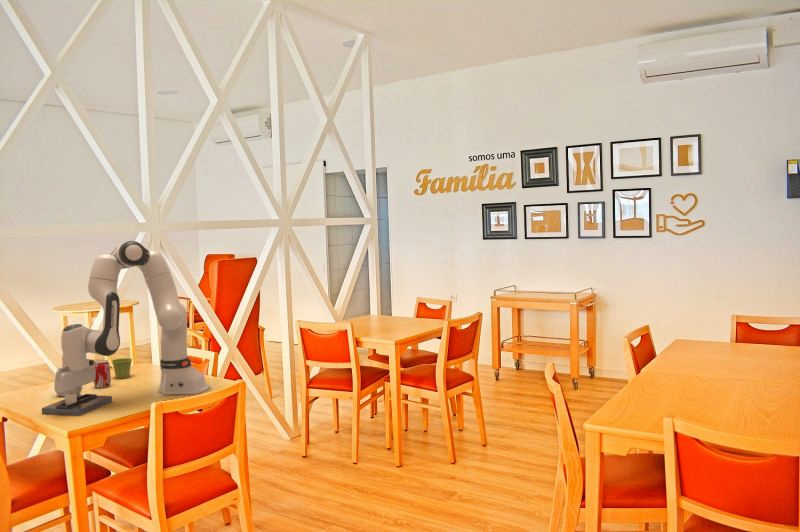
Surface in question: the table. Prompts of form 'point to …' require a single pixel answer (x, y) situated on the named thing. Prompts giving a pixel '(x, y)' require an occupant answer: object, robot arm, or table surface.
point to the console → (77, 405)
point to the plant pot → (122, 367)
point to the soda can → (102, 374)
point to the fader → (70, 398)
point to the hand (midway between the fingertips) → (76, 398)
